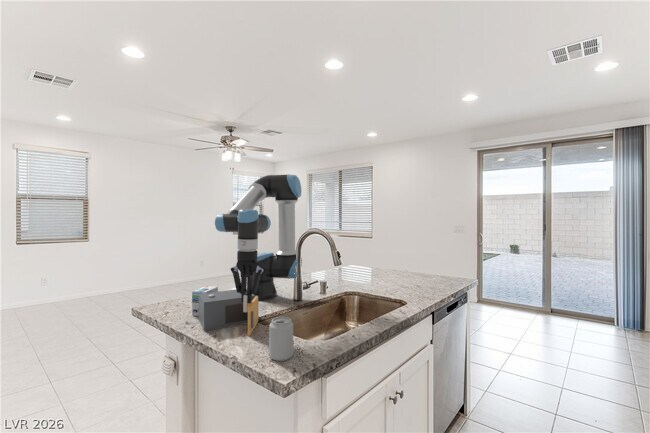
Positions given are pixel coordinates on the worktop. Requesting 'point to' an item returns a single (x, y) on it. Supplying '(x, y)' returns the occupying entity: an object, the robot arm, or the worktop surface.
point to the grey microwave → (221, 310)
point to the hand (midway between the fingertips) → (246, 311)
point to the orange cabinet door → (252, 315)
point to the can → (281, 338)
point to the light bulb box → (196, 297)
